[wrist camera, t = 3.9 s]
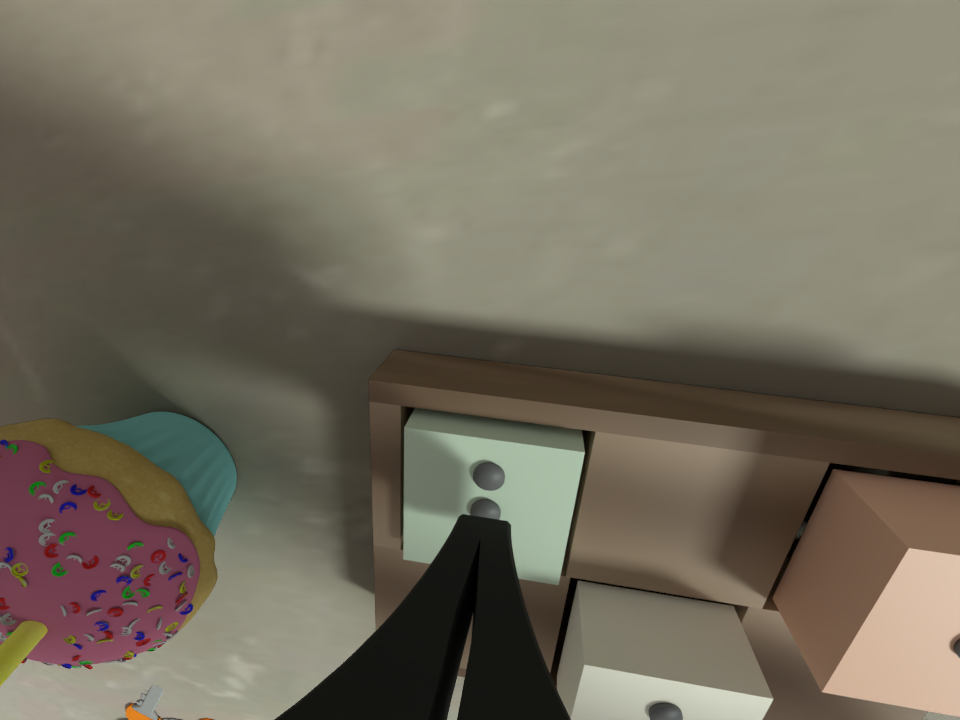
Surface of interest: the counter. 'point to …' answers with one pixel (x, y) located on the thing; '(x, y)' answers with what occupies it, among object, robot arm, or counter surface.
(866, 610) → the key one
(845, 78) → the counter surface
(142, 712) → the key chain
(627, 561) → the board
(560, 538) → the key three
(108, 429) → the cupcake
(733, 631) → the key two
